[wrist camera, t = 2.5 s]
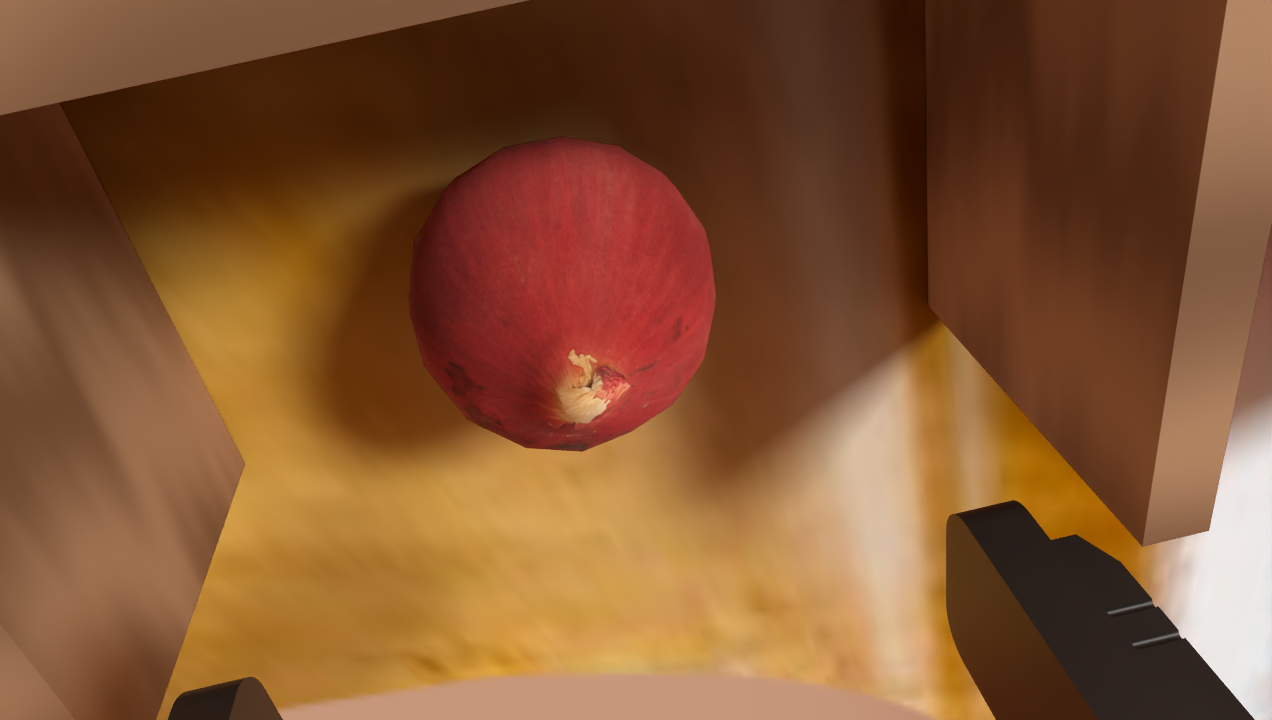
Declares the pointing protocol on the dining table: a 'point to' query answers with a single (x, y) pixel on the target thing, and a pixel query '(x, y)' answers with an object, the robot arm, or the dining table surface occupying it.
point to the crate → (957, 288)
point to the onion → (562, 293)
